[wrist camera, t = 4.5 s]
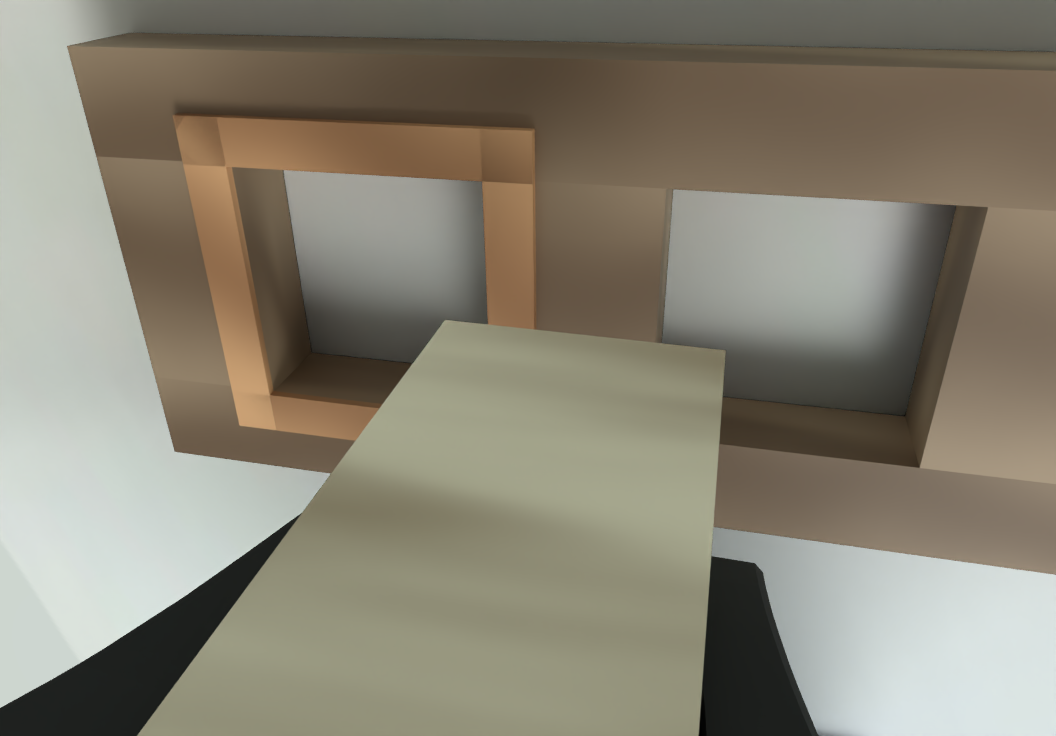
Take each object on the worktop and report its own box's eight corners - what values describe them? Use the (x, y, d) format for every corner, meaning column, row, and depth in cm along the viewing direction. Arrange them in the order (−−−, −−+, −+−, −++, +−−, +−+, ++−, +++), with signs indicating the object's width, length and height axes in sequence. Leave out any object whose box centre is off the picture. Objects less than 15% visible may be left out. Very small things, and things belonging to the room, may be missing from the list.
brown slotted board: (1515, 576, 17) (1607, 658, 15) (216, 411, 24) (170, 456, 22) (1894, 69, 12) (2096, 99, 11) (130, 32, 19) (60, 47, 17)
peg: (696, 571, 13) (632, 1271, 7) (456, 533, 14) (178, 1120, 7) (726, 350, 11) (678, 1022, 5) (444, 319, 12) (50, 851, 5)
